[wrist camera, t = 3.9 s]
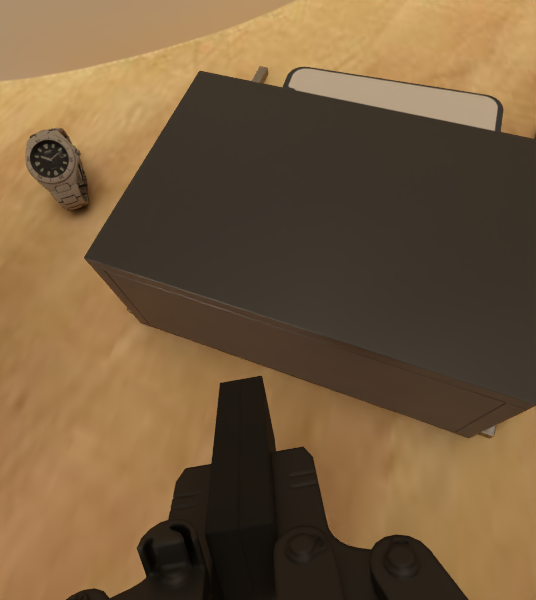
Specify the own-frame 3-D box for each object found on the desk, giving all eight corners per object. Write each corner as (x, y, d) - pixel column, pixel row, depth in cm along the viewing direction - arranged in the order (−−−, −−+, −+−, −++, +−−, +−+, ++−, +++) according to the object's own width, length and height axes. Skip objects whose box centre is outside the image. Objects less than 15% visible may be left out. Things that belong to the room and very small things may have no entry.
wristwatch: (60, 224, 33) (21, 178, 28) (50, 162, 35) (12, 111, 31) (107, 209, 33) (75, 160, 29) (94, 148, 36) (63, 95, 31)
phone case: (497, 112, 34) (291, 79, 37) (506, 94, 33) (291, 61, 36) (484, 206, 31) (259, 162, 34) (493, 191, 29) (257, 146, 32)
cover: (139, 322, 29) (82, 257, 22) (222, 165, 34) (199, 70, 26) (469, 438, 24) (537, 405, 17) (510, 238, 29) (576, 146, 22)
